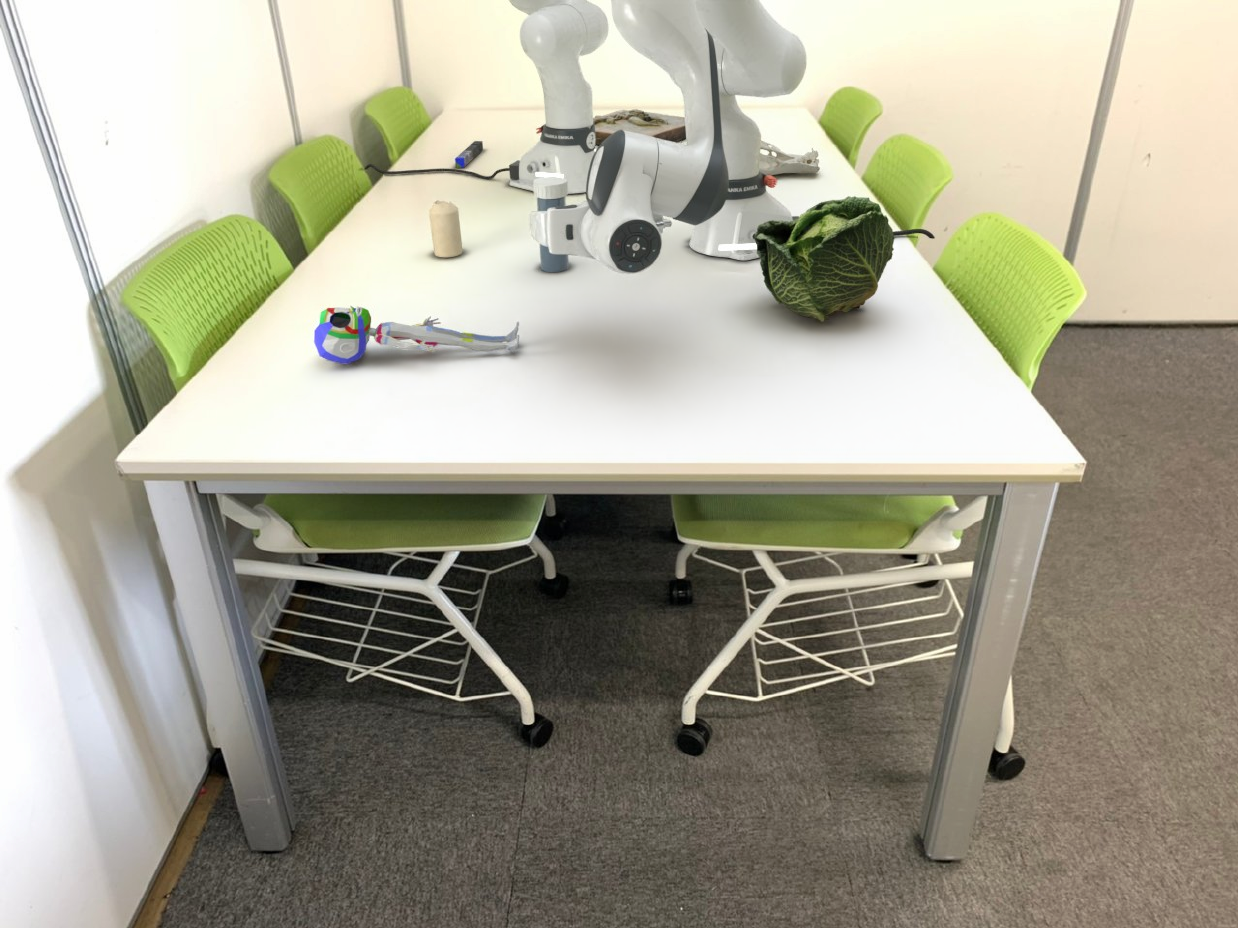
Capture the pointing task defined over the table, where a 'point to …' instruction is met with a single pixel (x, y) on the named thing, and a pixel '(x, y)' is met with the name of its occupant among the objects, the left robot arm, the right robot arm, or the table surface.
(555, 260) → the jar
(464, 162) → the pillar
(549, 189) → the lid
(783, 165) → the anatomical model
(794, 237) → the vegetable
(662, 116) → the plaque
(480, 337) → the toy
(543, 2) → the left robot arm
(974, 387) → the table surface
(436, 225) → the candle
